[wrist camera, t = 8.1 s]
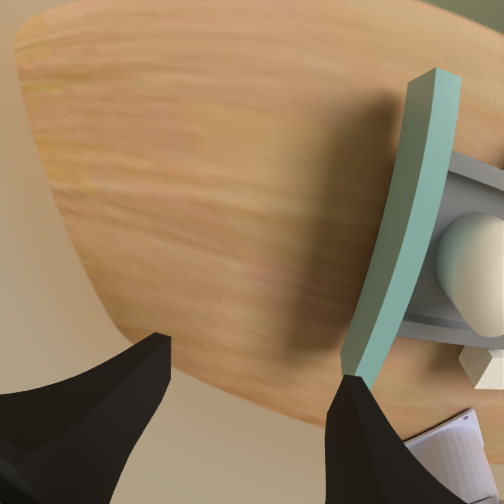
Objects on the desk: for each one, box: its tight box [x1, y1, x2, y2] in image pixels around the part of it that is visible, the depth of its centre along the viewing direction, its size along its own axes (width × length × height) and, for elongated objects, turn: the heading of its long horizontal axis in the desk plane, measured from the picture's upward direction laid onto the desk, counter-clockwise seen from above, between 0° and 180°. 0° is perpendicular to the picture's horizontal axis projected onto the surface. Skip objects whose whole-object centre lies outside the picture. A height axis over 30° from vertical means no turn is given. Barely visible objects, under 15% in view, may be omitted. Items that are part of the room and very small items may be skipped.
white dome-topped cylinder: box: [435, 211, 504, 337], centre depth 13 cm, size 5×5×4 cm
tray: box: [340, 68, 504, 390], centre depth 14 cm, size 11×16×4 cm
